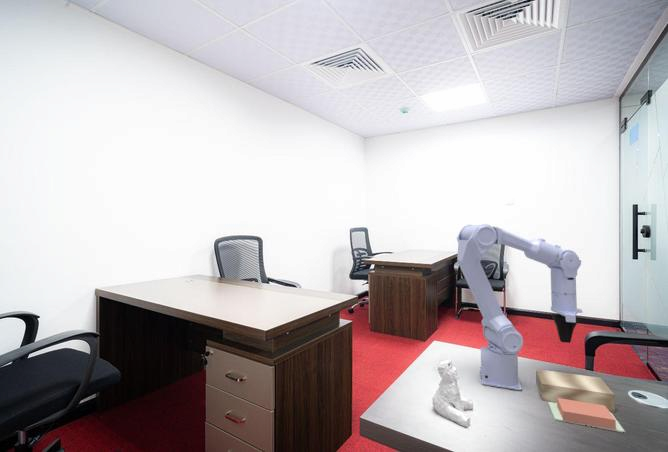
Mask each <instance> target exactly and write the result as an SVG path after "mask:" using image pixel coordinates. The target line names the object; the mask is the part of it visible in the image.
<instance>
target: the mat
mask: <svg viewBox="0 0 668 452" xmlns="http://www.w3.org/2000/svg"><path fill="white" fill-rule="evenodd" d="M547 404H548V406H549V409H550V411H551V413H552V416H553V419H554V420H555V421H559V422H562V423H563V422H565V423H568V424H575V425H581V426H585V425H586V424H581V423H575V422H570V421H564V420H563V418H562V416H561V414H560V412H559V409H558V407H557V403H556V402H550V401H547ZM609 412H610V413H611V414H612V416H613V417H614V419H615V420H616V430H614V429H608V428H603V427H597V426H592V425H587V427H591V426H592V428H596V427H597V429H601V430H602V429H603V430H608V431H614V432H619V433H623V432H624V434H625V433H626V431H625V429H624V428H623V426H622V425H621V424H620V422H619V421H618V420H617V419H616V417H615V416H614V414H613V412H611V411H609Z"/></svg>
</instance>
